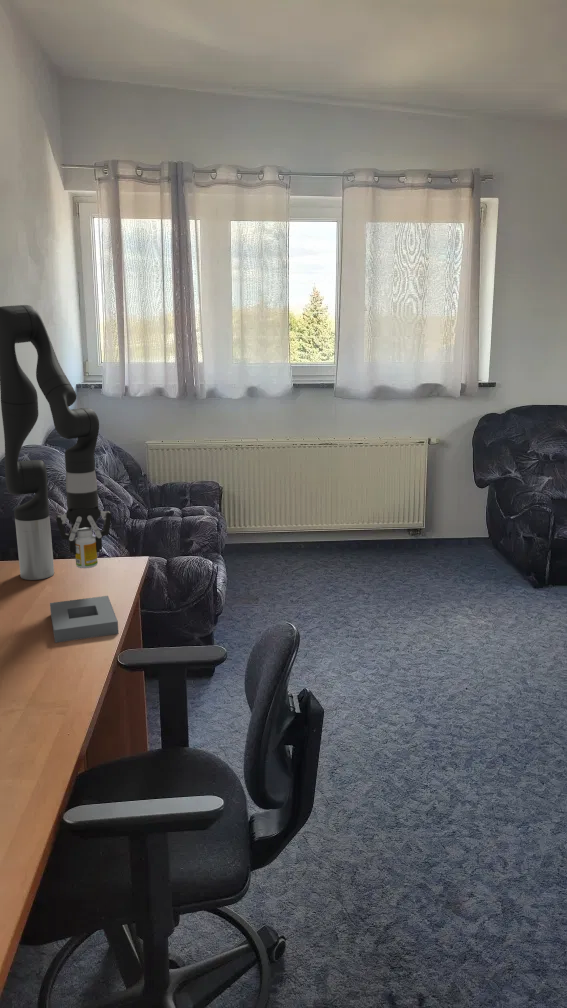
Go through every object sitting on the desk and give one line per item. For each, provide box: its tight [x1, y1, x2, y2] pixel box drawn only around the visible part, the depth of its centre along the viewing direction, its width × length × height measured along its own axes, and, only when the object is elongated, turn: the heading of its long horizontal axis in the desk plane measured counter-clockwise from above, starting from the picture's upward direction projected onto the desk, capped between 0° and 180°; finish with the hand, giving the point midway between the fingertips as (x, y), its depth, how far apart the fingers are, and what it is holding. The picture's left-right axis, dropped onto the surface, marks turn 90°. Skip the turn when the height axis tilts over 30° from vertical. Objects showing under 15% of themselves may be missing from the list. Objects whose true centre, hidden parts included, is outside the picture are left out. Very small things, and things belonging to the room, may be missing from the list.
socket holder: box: [49, 595, 119, 644], centre depth 171 cm, size 18×14×3 cm
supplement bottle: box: [74, 527, 99, 569], centre depth 185 cm, size 5×5×10 cm
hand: (86, 552), depth 185 cm, fingers closed on supplement bottle, 5 cm apart
